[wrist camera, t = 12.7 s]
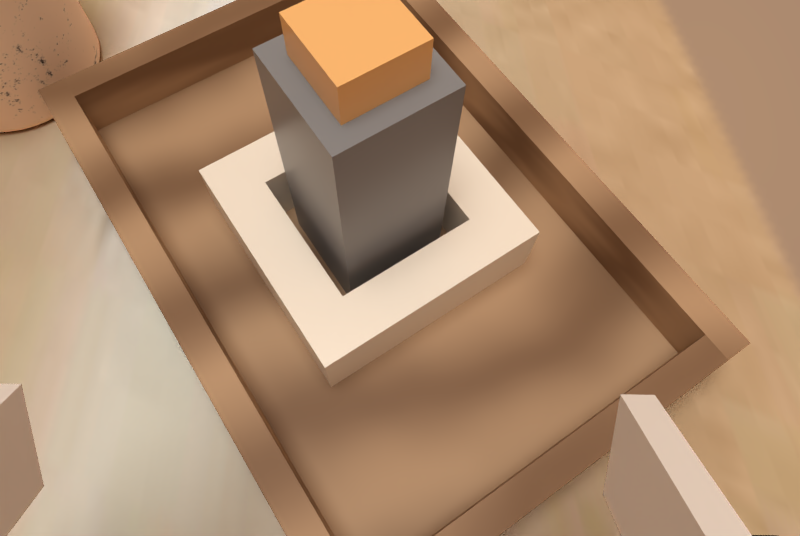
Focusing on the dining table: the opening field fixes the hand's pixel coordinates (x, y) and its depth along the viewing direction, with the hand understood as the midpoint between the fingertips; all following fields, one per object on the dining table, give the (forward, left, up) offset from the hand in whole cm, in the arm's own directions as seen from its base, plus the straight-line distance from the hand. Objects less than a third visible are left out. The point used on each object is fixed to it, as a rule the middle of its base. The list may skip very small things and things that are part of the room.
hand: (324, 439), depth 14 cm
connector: (-8, +6, -11) cm, 15 cm away
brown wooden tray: (-9, +6, -12) cm, 16 cm away
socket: (-9, +6, -12) cm, 16 cm away
